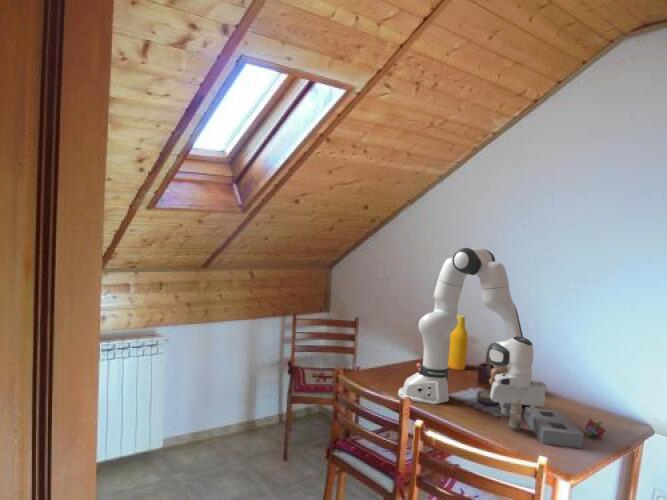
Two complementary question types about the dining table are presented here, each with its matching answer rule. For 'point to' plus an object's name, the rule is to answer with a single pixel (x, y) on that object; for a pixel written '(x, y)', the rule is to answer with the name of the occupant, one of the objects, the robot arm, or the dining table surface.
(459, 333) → the beer bottle
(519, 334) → the robot arm
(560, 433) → the socket block
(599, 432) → the geometric puzzle
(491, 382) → the ceramic jug
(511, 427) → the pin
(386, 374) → the dining table surface
